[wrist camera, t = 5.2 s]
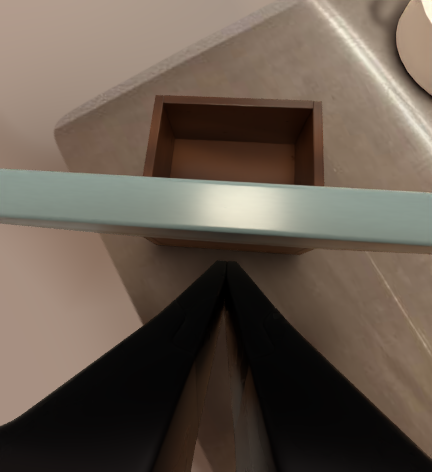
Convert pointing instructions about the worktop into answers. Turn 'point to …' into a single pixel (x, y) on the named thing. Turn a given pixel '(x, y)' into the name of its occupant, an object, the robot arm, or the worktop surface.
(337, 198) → the lid
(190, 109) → the chest
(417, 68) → the pot
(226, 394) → the worktop surface
